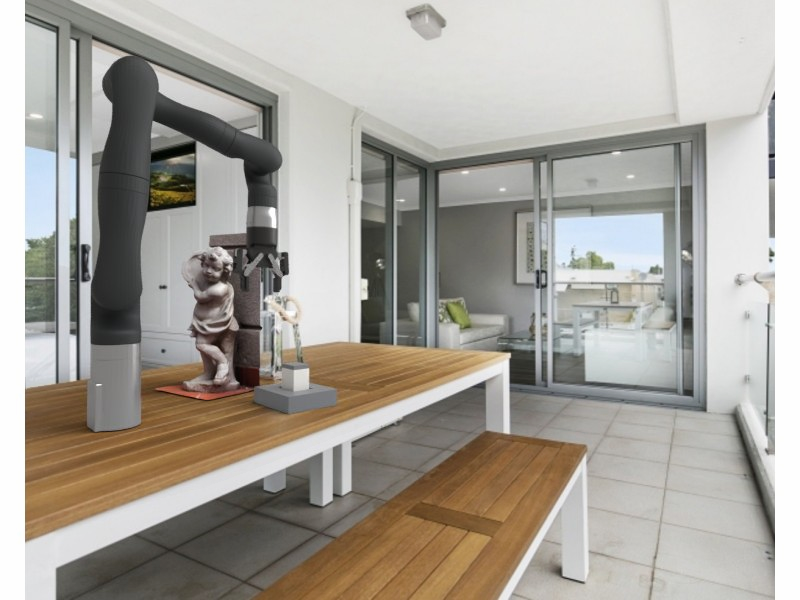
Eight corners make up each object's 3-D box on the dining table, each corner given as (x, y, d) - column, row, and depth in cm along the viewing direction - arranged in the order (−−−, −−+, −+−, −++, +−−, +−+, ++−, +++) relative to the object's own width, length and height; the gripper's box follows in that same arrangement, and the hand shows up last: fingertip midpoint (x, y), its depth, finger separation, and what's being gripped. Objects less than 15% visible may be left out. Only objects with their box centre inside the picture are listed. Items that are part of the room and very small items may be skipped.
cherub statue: (154, 390, 140) (155, 229, 139) (210, 381, 156) (211, 235, 155) (207, 401, 128) (208, 224, 127) (262, 389, 144) (264, 232, 143)
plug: (293, 402, 124) (293, 366, 123) (281, 398, 127) (281, 363, 127) (308, 400, 127) (309, 364, 127) (296, 396, 131) (297, 361, 130)
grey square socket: (288, 414, 117) (288, 396, 117) (254, 402, 128) (254, 386, 128) (336, 405, 126) (337, 389, 126) (300, 394, 138) (301, 380, 138)
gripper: (242, 222, 117) (241, 292, 118) (295, 228, 127) (294, 292, 128) (227, 225, 123) (227, 291, 123) (279, 230, 133) (278, 292, 133)
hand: (261, 292), depth 125 cm, fingers open, 8 cm apart
